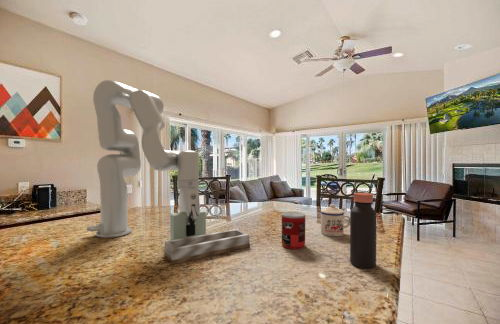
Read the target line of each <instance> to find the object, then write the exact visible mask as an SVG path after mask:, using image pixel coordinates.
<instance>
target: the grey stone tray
mask: <svg viewBox="0 0 500 324" xmlns="http://www.w3.org/2000/svg"><path fill="white" fill-rule="evenodd" d="M250 247H251V244H250V234H249V233H247V232H245V231H242V230H240V229H238V228H234V229H230V230H224V231H222V230H221V231H217V232H211V233H207V234H205V235H200V236H194V237H188V238H183V239H177V240H171V239H170V240H166V241H164V255H165V257H167V259H168V260H169V261H170V262H171V264H172V265H176V264H180V263H185V262H189V261H193V260H198V259H202V258H206V257H211V256H214V255H220V254H224V253H228V252H232V251H236V250H241V249H246V248H250Z"/></svg>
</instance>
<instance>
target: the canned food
mask: <svg viewBox="0 0 500 324" xmlns="http://www.w3.org/2000/svg"><path fill="white" fill-rule="evenodd" d="M281 244H282V245H281V246H282V247H284V248H286V249H289V250H301V249H304V248H305V245H306V214H305V213H304V212H299V211H284V212H282V213H281Z"/></svg>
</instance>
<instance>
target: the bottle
mask: <svg viewBox="0 0 500 324" xmlns="http://www.w3.org/2000/svg"><path fill="white" fill-rule="evenodd" d="M373 200H374V194H373V193H369V192H354V193H353V202H354V206H353V207H352V208H351V209H350V215H349V217H350V226H349V227H350V229H349V230H350V231H349V232H350V233H349V234H350V235H349V237H350V238H349V245H350V246H349V262H350V263H351V265H353V266H355V267H357V268H361V269H365V270H366V269H367V270H368V269H369V270H370V269H374V268H376V267H377V216H378V215H377V211H376V210H375V209H374V208H373V206H372V205H373V202H374V201H373Z"/></svg>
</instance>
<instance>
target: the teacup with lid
mask: <svg viewBox="0 0 500 324" xmlns="http://www.w3.org/2000/svg"><path fill="white" fill-rule="evenodd" d="M344 218H348V223H347V224H346V225H345V223H344V222H345V220H344ZM349 227H350V215H347V214H345V211H344V210H343V209H340V208H338V207H337V206H336V205H335V204H334V203H330V204H329V206H327V207H325V208H322V209H321V210H320V233H321V234H322V235H323V236H328V237H342V236H344V235H345V234H344V232H345V231H344V229H346V228H349Z"/></svg>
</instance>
